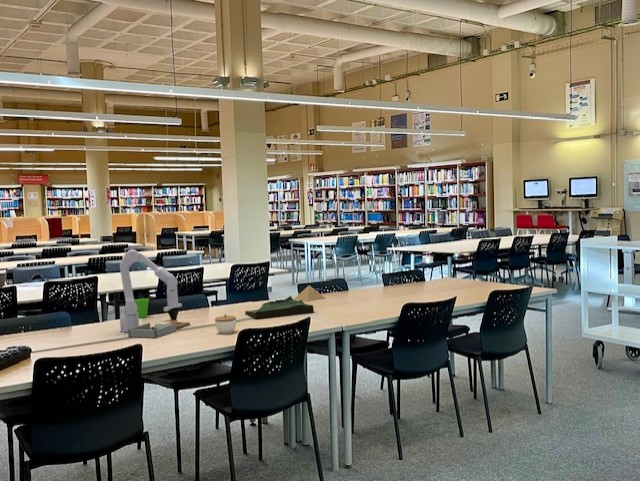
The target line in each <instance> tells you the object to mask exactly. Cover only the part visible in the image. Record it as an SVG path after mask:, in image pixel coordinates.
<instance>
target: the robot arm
mask: <svg viewBox="0 0 640 481" xmlns="http://www.w3.org/2000/svg"><path fill="white" fill-rule="evenodd" d="M135 262H137V263H143V264H144V265H145V266H147V267H148V268H150V269H151V270H152V271H153V272H154V275H155V277H156V278H158V279H160V280H161V281H162V282H164V283H165V284H166V297H167V298H166V301H167V305H166V306H164V307H163V312H167V313H168V316H169V319H170V320H178V319H177V318H178V314H179V311H180V308H182V307H183V304H182V303H181V302H180V303H179V296H178V284H179V283H178V282H179V281H178V279H177V278H176V277H175V276H174V274H173V273H170V272H169V271H168V270H167V269H166V268H165V266H164V267H163V266H158V265H157V264H155V262H153V261H152V260H150V259H149V258H148V257H147V256H146V255H144V254H143V253H141V252H138V251H137V249H133V248H132V249H129V250H128V251H126V252H125V253H124V254H123V258H122V259H121V261H120V263H119V271H120V275H121V276H120V277H121V283H122V288H123V294H124V300H125V305H124V309H125V310H124V311H125V313H124V314H122V315H121V316H120V319H119V325H120V326H119V327H120V330H119V332H120V333H128V329H131V328H134V327H137V326H140V318H139V315H138V313H137V310H138V308H137V305H136V303H135V302H134V300H135V297H134V292H133V286H132V281H131V280H132V279H131V274H130V267H131V266H132V265H133V264H134V263H135Z"/></svg>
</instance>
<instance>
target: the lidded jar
mask: <svg viewBox="0 0 640 481" xmlns="http://www.w3.org/2000/svg"><path fill="white" fill-rule="evenodd" d="M214 321H215V322H214V323H215V328H216V329H217V332H219V333H220V334H222V335H223V334H224V335H225V334H231V333H233V331H234V330H235V329H236V324H237V323H236V321H237V317H236V316H234V315H227V314H226V313H225V314H224V315H223V316H222V315H221V316H216V317H215V318H214Z"/></svg>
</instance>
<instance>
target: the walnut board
mask: <svg viewBox="0 0 640 481" xmlns="http://www.w3.org/2000/svg"><path fill="white" fill-rule="evenodd" d="M177 322H178V324H177V325H175V329H176V331H177V330H180V329H183V328H186V327H188V326H190V325H191V324H190V322H185V321H184V322H183V321H182V322H180V321H177ZM150 330H157V329H155V325H154V326H150Z"/></svg>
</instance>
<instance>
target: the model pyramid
mask: <svg viewBox="0 0 640 481" xmlns="http://www.w3.org/2000/svg"><path fill="white" fill-rule="evenodd" d="M292 299H293V300H296V301H299V300H302V301H303V302H307V303H308V302H309V303H310V302H313V301H320V300H326V299H327V298H326V297H325V296H324V295H322V294H321V293H320V292H319V291H317V290H316V289H315V288H313V287H312V286H311V285H308V286H306V288H304V289H303V290H302V291H301V292H300V293H299V294H297V296H295V297H294V298H292Z"/></svg>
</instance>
